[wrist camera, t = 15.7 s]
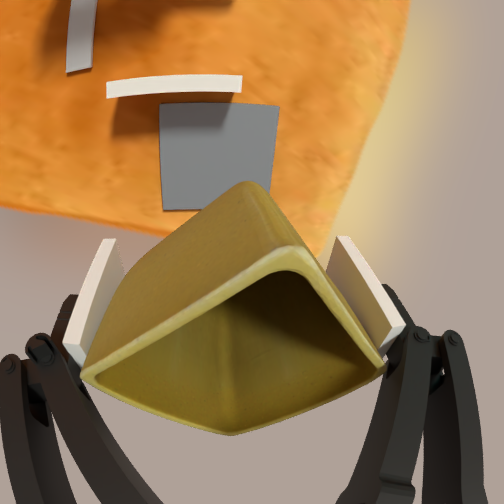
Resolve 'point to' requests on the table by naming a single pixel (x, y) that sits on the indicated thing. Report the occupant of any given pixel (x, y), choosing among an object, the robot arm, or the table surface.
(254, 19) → the table surface
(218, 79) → the white bars
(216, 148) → the mat
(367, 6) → the table surface
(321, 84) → the table surface
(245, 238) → the flower pot
